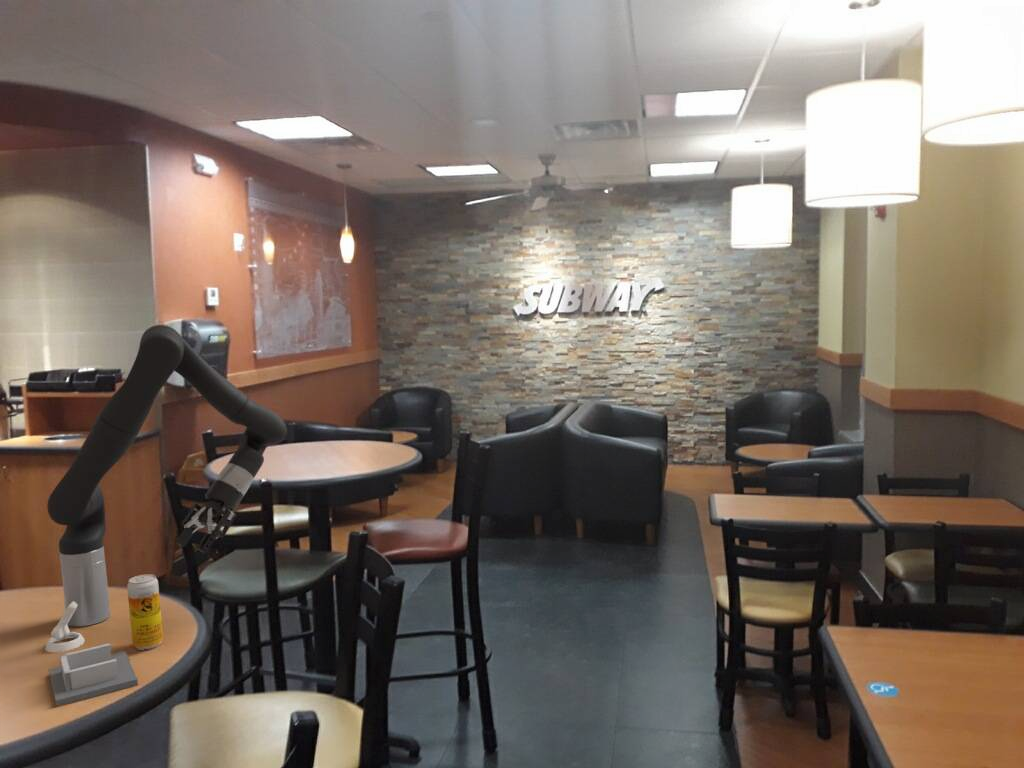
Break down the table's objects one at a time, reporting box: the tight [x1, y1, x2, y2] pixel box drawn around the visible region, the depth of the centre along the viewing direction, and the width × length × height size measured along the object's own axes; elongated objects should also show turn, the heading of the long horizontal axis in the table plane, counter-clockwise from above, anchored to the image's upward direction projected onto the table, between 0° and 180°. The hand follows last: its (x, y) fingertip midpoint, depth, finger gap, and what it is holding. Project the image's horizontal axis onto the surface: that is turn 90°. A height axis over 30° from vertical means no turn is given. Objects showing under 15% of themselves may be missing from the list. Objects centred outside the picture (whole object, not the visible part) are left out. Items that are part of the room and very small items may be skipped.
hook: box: [44, 602, 86, 653], centre depth 180 cm, size 8×12×7 cm
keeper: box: [48, 643, 139, 708], centre depth 163 cm, size 16×14×5 cm
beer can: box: [126, 573, 164, 651], centre depth 178 cm, size 6×6×15 cm
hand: (190, 548), depth 186 cm, fingers open, 8 cm apart
